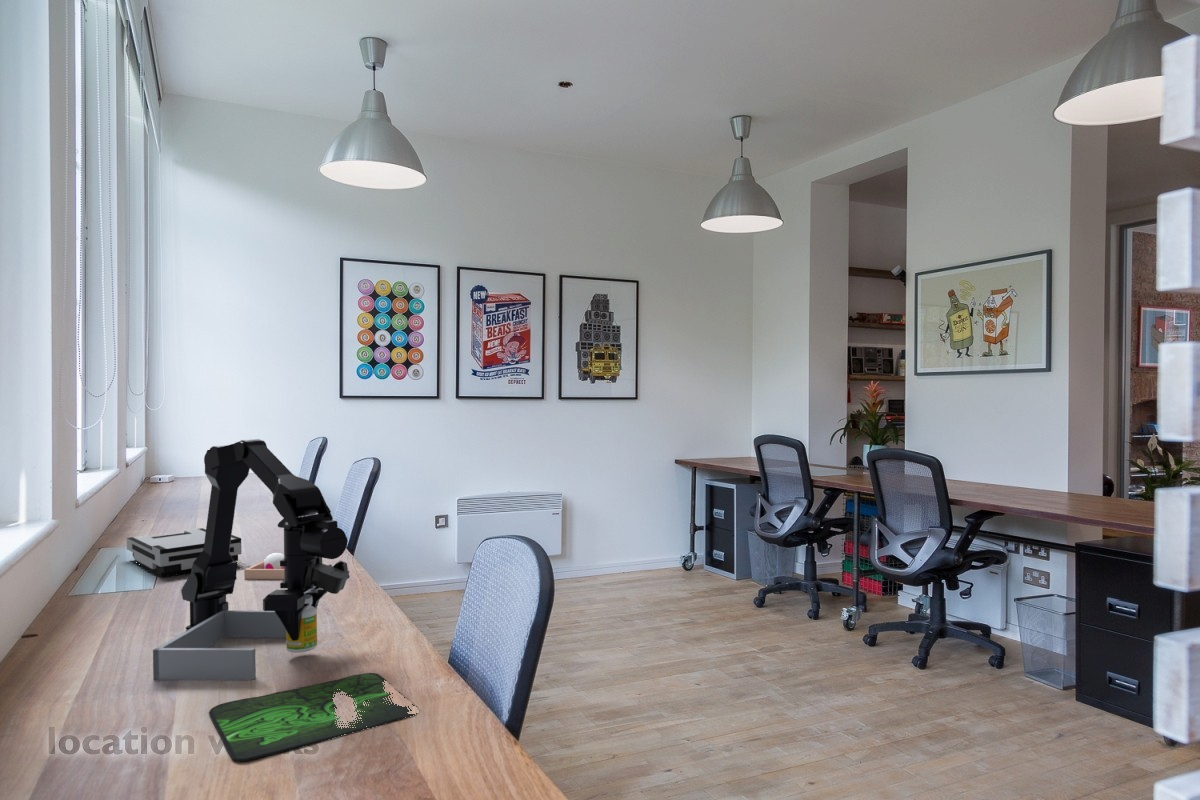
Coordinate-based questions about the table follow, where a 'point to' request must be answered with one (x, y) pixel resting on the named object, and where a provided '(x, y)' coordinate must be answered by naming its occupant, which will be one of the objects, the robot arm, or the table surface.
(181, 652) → the open side box
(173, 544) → the game console
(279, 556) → the stress ball
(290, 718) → the mouse mat
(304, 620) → the supplement bottle
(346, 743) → the table surface
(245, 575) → the ball dish
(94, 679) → the table surface
